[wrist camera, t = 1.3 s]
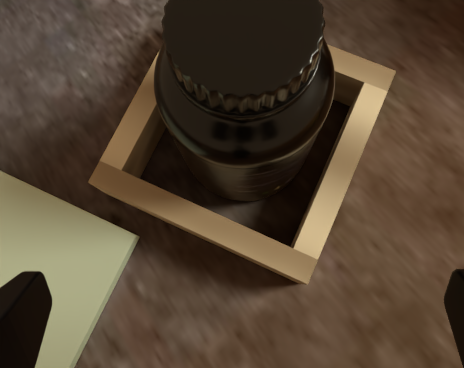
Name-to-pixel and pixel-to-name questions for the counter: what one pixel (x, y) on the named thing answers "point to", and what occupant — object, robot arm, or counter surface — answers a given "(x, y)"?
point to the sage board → (61, 262)
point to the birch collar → (227, 231)
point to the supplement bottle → (244, 90)
